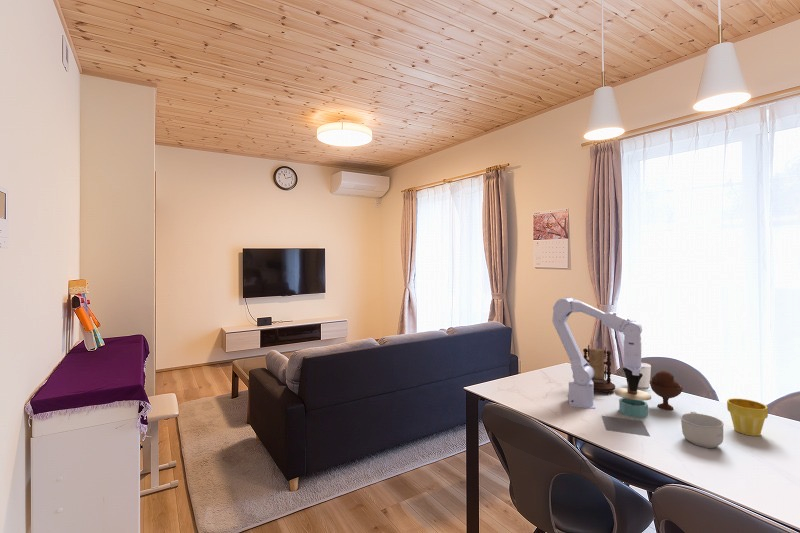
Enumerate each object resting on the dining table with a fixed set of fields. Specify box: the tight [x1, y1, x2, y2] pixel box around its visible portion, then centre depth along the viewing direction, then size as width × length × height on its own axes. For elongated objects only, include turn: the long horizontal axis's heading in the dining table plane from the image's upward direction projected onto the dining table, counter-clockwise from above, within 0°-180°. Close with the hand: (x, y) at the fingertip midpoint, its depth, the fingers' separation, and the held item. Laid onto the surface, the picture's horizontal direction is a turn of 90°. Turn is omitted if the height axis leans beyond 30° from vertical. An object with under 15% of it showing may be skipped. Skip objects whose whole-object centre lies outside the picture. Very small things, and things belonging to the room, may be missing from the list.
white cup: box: [638, 362, 652, 389], centre depth 179 cm, size 8×8×10 cm
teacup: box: [680, 411, 725, 449], centre depth 124 cm, size 14×11×8 cm
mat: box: [601, 415, 651, 437], centre depth 136 cm, size 13×13×1 cm
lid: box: [613, 379, 652, 402], centre depth 145 cm, size 12×12×5 cm
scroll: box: [582, 344, 616, 395], centre depth 175 cm, size 15×15×20 cm
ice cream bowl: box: [649, 370, 684, 412], centre depth 152 cm, size 11×11×15 cm
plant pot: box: [726, 398, 769, 437], centre depth 131 cm, size 10×10×10 cm
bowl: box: [618, 397, 649, 419], centre depth 147 cm, size 9×9×4 cm
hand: (632, 389), depth 145 cm, fingers closed on lid, 3 cm apart
